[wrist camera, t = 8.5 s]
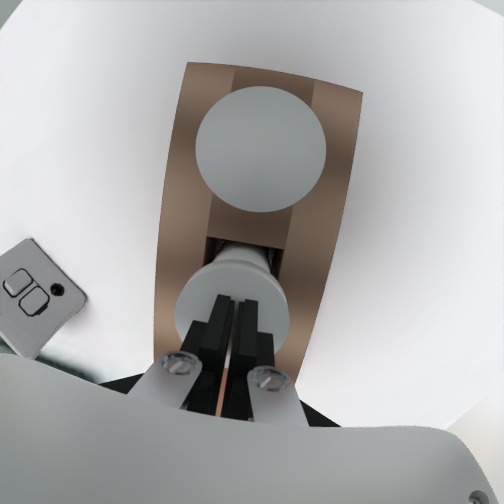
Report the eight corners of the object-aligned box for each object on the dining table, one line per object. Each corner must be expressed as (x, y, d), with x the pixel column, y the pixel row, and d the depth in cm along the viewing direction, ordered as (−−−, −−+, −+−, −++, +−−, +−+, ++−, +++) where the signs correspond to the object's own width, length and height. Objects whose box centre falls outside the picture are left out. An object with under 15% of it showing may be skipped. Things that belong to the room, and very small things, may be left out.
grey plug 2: (216, 218, 21) (178, 258, 11) (282, 229, 21) (301, 279, 11) (208, 279, 22) (172, 357, 12) (269, 290, 22) (276, 375, 12)
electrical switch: (90, 296, 24) (31, 352, 15) (76, 326, 26) (25, 378, 17) (31, 234, 23) (-35, 268, 14) (21, 268, 24) (-35, 305, 15)
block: (205, 89, 19) (187, 62, 13) (336, 112, 19) (362, 92, 13) (173, 362, 25) (155, 404, 20) (276, 380, 26) (279, 425, 20)
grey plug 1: (232, 123, 19) (208, 79, 9) (299, 134, 19) (334, 100, 9) (221, 187, 20) (186, 201, 11) (287, 199, 20) (313, 223, 11)
